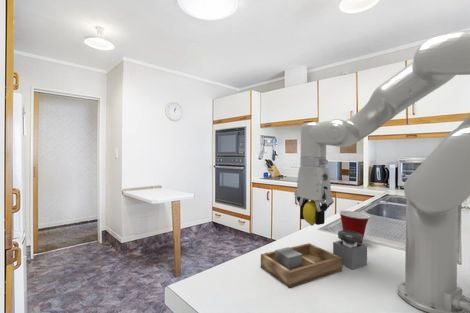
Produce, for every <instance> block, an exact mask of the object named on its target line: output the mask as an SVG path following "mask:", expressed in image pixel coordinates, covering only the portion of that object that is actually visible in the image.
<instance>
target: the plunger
mask: <svg viewBox="0 0 470 313" xmlns="http://www.w3.org/2000/svg"><path fill="white" fill-rule="evenodd" d="M337 237H338V239H339V240H343V245H345V246H348V247H350V248H354V247H357V242H361V241H362V234H360V233H358V232H355V231H349V230H343V229H342V230H338V231H337Z"/></svg>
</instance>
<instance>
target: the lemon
mask: <svg viewBox="0 0 470 313" xmlns="http://www.w3.org/2000/svg"><path fill="white" fill-rule="evenodd" d="M316 211H317V207H316V203H315V201H312V200H309V202H307V203H306V204H305V205H304V208H303V217H304V219H303V220H304V221H305V222H306V223H307V224H309V225H310V226H314V225H316V224H315V212H316Z"/></svg>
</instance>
